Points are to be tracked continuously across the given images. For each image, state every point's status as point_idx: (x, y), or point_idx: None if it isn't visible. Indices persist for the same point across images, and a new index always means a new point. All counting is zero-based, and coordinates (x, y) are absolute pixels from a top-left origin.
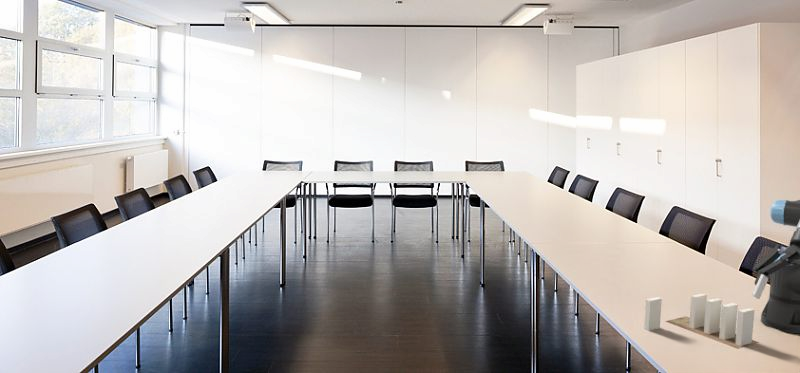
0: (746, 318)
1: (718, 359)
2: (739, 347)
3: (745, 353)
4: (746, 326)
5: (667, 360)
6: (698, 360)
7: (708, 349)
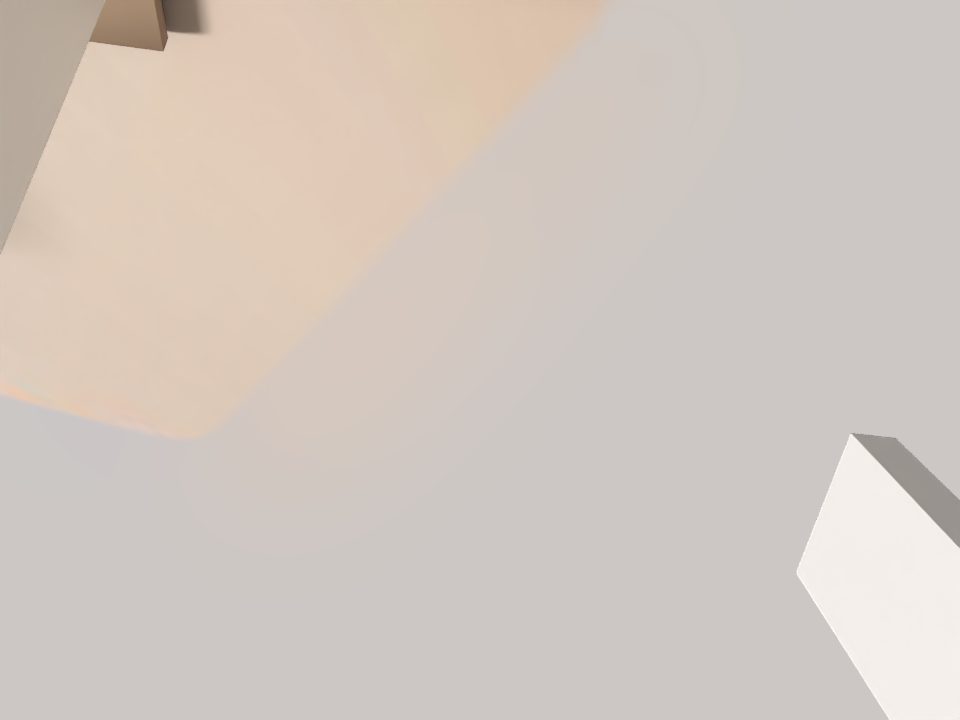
0: (3, 132)
1: (239, 256)
2: (148, 14)
3: (236, 22)
4: (34, 35)
5: (144, 408)
6: (202, 331)
7: (61, 168)
